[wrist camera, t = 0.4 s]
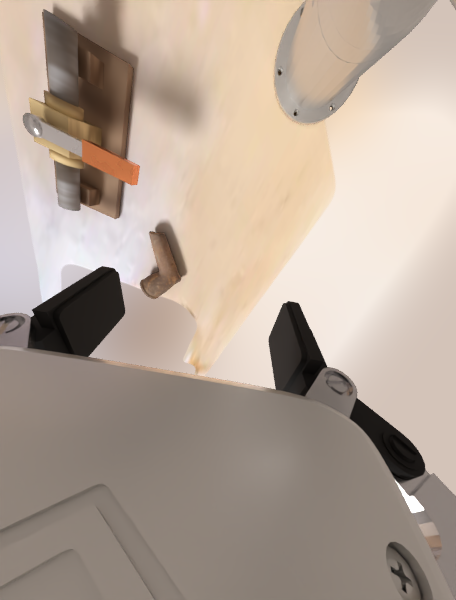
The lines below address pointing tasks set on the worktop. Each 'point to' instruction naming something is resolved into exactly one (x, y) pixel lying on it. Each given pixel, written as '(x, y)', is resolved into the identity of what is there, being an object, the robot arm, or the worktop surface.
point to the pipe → (160, 268)
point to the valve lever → (84, 149)
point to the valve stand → (84, 113)
